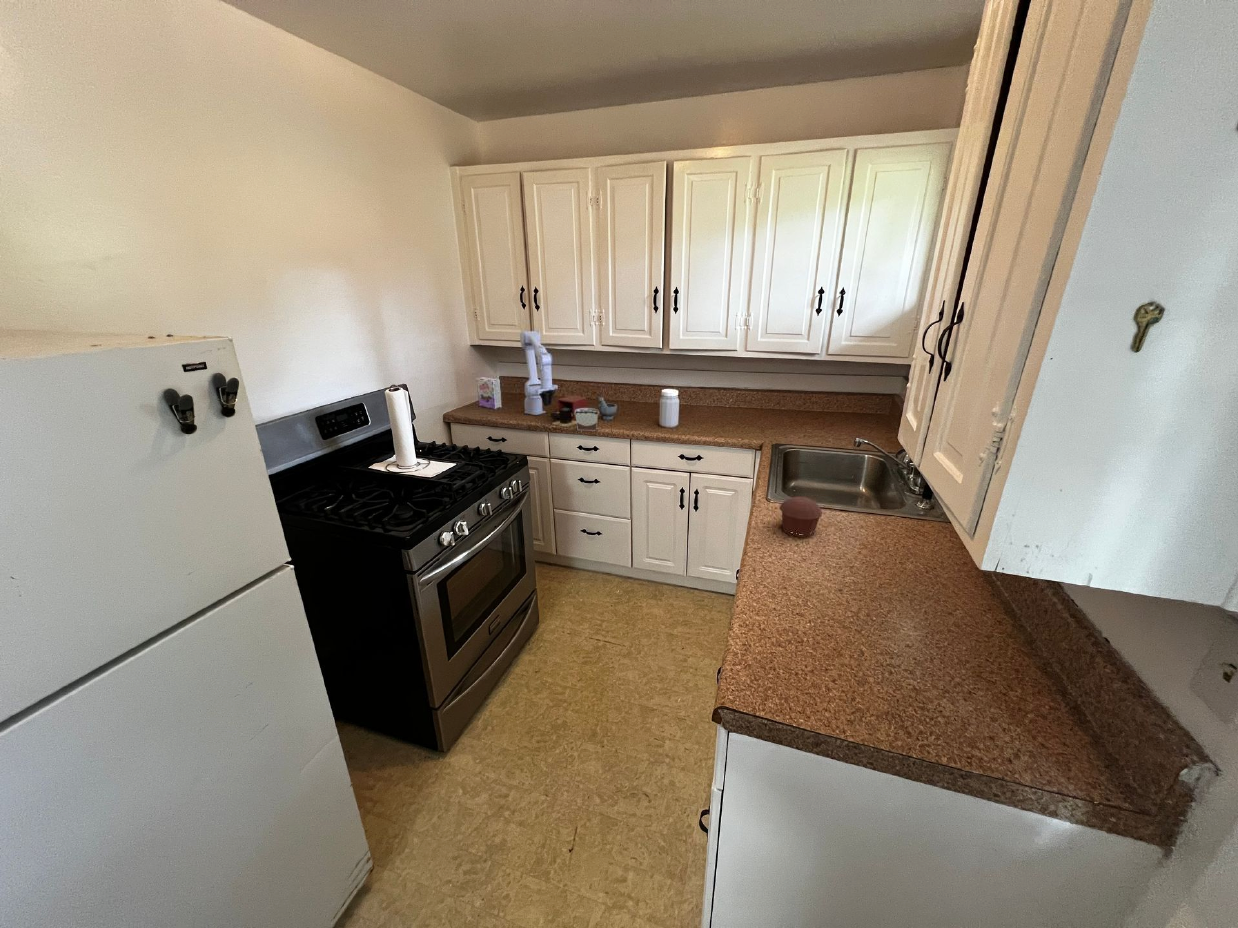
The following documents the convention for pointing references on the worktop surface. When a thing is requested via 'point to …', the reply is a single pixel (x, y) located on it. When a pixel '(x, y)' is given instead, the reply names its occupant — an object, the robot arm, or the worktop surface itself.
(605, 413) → the mortar and pestle
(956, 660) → the worktop surface
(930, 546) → the worktop surface
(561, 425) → the trivet
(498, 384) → the candy box
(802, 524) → the muffin
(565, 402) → the dark red block
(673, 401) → the jar
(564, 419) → the black weight
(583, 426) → the food container
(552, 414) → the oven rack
